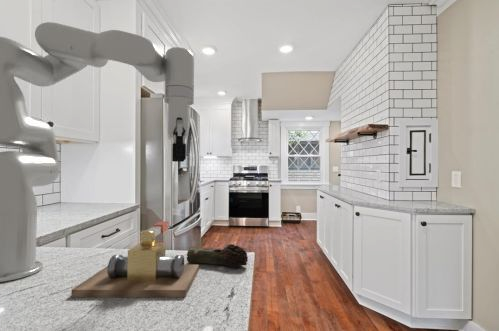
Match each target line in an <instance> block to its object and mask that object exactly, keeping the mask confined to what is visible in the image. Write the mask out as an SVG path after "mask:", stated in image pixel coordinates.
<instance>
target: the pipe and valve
mask: <svg viewBox="0 0 499 331" xmlns="http://www.w3.org/2000/svg"><path fill="white" fill-rule="evenodd" d="M184 265H185V256H184V255H183V254H176V255H174V256H166V242H155V245H153V246H146V247H144V246H141V241H140V242H139V243H137V244H135V245H134V246H133V247H131V248H129V249H128V250H127V256H124V255H122V254H113V255H112V256H111V257H110V259H109V261H108V263H107V266H108V268H107V273H108V277H109V278H117V277H118V276H127V282H156V281H157V279H158V278H159V277H160V276H173V277H174V278H180V277H181V276H182V274H183V271H184Z"/></svg>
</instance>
